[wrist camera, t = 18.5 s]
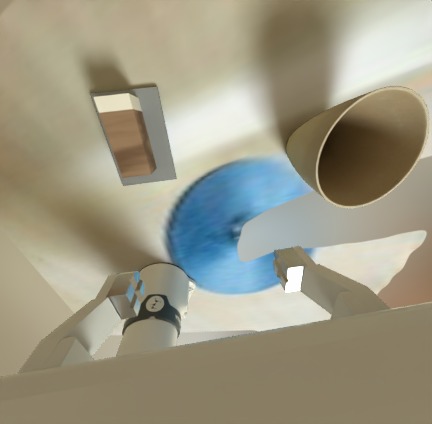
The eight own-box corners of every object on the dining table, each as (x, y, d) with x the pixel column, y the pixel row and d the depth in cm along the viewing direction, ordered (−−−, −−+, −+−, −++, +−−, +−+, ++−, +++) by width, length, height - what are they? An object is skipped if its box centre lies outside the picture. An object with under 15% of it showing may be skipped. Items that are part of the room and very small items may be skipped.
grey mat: (176, 178, 37) (176, 179, 36) (124, 184, 36) (123, 185, 36) (157, 87, 30) (156, 86, 29) (91, 94, 29) (89, 93, 29)
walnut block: (151, 174, 31) (128, 93, 25) (122, 178, 30) (93, 96, 25) (156, 168, 35) (138, 98, 30) (131, 171, 35) (108, 101, 29)
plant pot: (330, 173, 40) (404, 200, 26) (268, 183, 40) (309, 215, 25) (344, 98, 33) (454, 77, 19) (269, 108, 33) (326, 94, 19)
